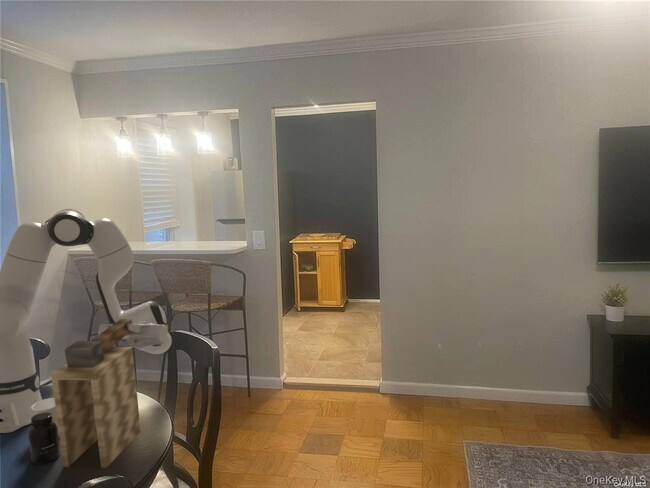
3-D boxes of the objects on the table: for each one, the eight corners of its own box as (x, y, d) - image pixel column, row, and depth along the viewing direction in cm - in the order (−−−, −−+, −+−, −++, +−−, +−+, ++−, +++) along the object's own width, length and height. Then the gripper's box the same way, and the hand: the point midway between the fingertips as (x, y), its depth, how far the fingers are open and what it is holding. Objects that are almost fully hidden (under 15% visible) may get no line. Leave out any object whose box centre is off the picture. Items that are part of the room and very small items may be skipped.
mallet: (116, 329, 146) (114, 314, 144) (138, 329, 145) (136, 314, 144) (67, 367, 122) (64, 349, 121) (93, 367, 122) (89, 349, 120)
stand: (102, 429, 141) (93, 346, 137) (140, 430, 140) (132, 346, 136) (63, 466, 123) (51, 372, 119) (106, 468, 122) (95, 372, 118)
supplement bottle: (48, 466, 124) (42, 423, 122) (25, 464, 125) (19, 422, 123) (66, 451, 130) (61, 410, 129) (45, 449, 132) (39, 409, 130)
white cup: (52, 444, 134) (48, 411, 133) (29, 442, 136) (24, 409, 135) (72, 429, 142) (68, 398, 141) (49, 427, 144) (45, 396, 142)
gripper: (113, 325, 156) (89, 316, 143) (172, 325, 154) (153, 316, 141) (110, 344, 154) (85, 336, 141) (169, 345, 151) (150, 337, 139)
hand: (120, 326), depth 141 cm, fingers closed on mallet, 3 cm apart
